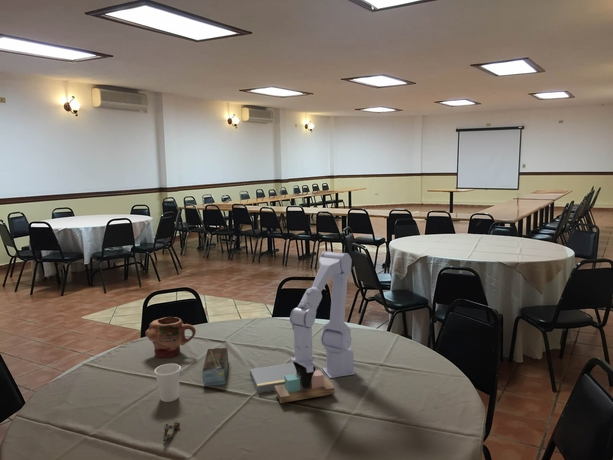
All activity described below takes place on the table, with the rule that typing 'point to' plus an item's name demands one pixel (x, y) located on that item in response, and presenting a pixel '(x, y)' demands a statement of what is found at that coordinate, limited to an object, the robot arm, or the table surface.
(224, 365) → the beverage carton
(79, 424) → the table surface
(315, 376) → the crate rose
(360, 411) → the table surface
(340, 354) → the robot arm
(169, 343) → the terracotta mug
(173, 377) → the dixie cup
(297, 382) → the block
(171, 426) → the toy blaster gun
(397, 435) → the table surface
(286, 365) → the grey flat block
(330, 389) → the pallet
